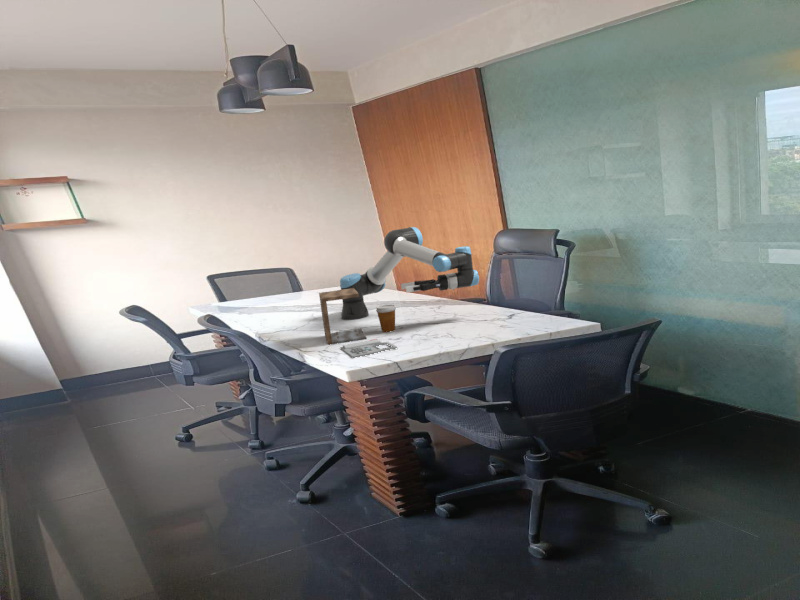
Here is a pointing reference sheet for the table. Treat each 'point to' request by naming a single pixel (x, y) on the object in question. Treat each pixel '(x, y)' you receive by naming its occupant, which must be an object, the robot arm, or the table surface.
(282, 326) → the table surface
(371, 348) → the office telephone
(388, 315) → the disposable coffee cup
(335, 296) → the walnut overhang shelf
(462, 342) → the table surface
